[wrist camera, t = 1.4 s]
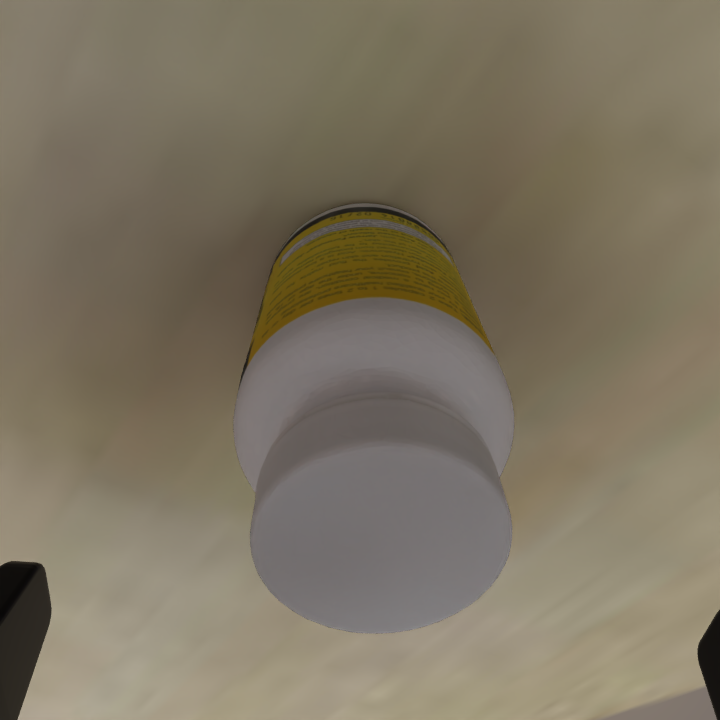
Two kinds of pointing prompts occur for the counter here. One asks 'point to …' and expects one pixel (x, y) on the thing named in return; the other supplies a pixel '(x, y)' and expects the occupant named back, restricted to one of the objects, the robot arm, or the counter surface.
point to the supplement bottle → (373, 428)
